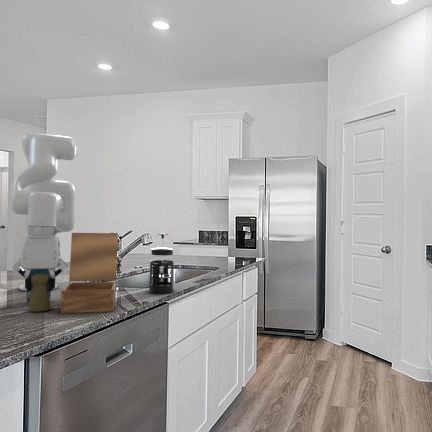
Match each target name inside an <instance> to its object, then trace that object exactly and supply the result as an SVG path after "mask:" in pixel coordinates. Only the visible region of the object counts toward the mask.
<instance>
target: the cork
mask: <svg viewBox="0 0 432 432" xmlns="http://www.w3.org/2000/svg"><path fill="white" fill-rule="evenodd" d="M49 278H50V276H49V275H48V274H45V273H38V274H34V275H32V277H31V283H32V284H33V286H32V291H31V297H30V302H29V303H28V307H27V308H28V309H27V311H29V312H45V311H49V310H51V308H52V307H51V298H49V289H48V283H49Z"/></svg>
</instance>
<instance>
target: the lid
mask: <svg viewBox="0 0 432 432" xmlns="http://www.w3.org/2000/svg"><path fill="white" fill-rule="evenodd" d="M118 243H119V233H116V232H115V233H114V232H113V233H112V232H71V242H70V258H69V259H70V261H69V276H68V277H69V278H68V282H117V272H118V271H117V269H118V245H119V244H118Z"/></svg>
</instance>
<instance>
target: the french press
mask: <svg viewBox="0 0 432 432" xmlns="http://www.w3.org/2000/svg"><path fill="white" fill-rule="evenodd" d="M157 236H161V237H160V238H161V239H162V240H161V247H155V248H150V249H149V250H150V251H151V255H152V256H161V259H156V260H155V259H154V260H150V261H149V283H148V285H149V286H148V287H149V288H148V293H149V294H151V295H152V294H153V295H167V294H173V293H174V265H175V264H174V263H175V261H174V260H170V259H169V260H167V259H163V256H172V255H174V251H175V248H170V247H164V239H165V236H169V233H166V232H165V233H164V232H163V233H157ZM169 267H170V268H171V269H170V270H171V271H170V274H169ZM160 269H161V270H160ZM160 279H161V280H163V281H160ZM169 279H170V281H169Z"/></svg>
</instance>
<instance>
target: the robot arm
mask: <svg viewBox="0 0 432 432" xmlns="http://www.w3.org/2000/svg"><path fill="white" fill-rule="evenodd" d="M21 148H22V151H23V154H24V156H25V159H26V162H27V165H28V167H27V168H25V169H24V170H22V171H21V172H20V173H19V174H18V175H17V176H16V177H15V178H14V180H13V182H12V185H11V193H10V208H11V210H12V212H13V213H15V214H16V215H19V216H21V215H23V226H24V234H25V236H24V238H23V243H22V251H21V257H20V259H18V260H17V261H16V262H15V264H13V265H12V269H13V270H14V271H16V272H17V273H18V274H19V275H21V276H22V277H23V279H24V282H23V284H21V285H20V286H19V290H20V291H24V292H26V293H27V292H29V291H31V290H32V283H31V276H30V275H31V273H32V270H33V269H49V272H50V275H51V276H50V278H49V291H51V292H52V291H53V290H56V289H57V288H58V284H57V283H56V278H57V277H58V276H59V275H60V274H61V273H62V272H64V271H65V270H66V269H68V268H69V265H68V264H67V263H66V262H65V260H64V259H63V258H62V257H61V242H60V237H59V236H57V234H61V233H69V232H72V230H74V228H75V222H76V221H75V220H76V188H75V186H74V184H73V183H72V182H70V181H67V180H56V179H55V176H56V175H57V173H58V160H61V161H73V160H74V159H75V157H76V156H77V155H76V154H77V144H76V141H75V139H74V138H73V137H72V136H68V135H67V136H66V135H56V134H49V133H37V132H29V133H25V134H23V135H22V137H21ZM27 187H28V190H24V189H25V188H27ZM59 266H60V267H59ZM58 267H59V268H58ZM56 268H58V269H57V270H56Z"/></svg>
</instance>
